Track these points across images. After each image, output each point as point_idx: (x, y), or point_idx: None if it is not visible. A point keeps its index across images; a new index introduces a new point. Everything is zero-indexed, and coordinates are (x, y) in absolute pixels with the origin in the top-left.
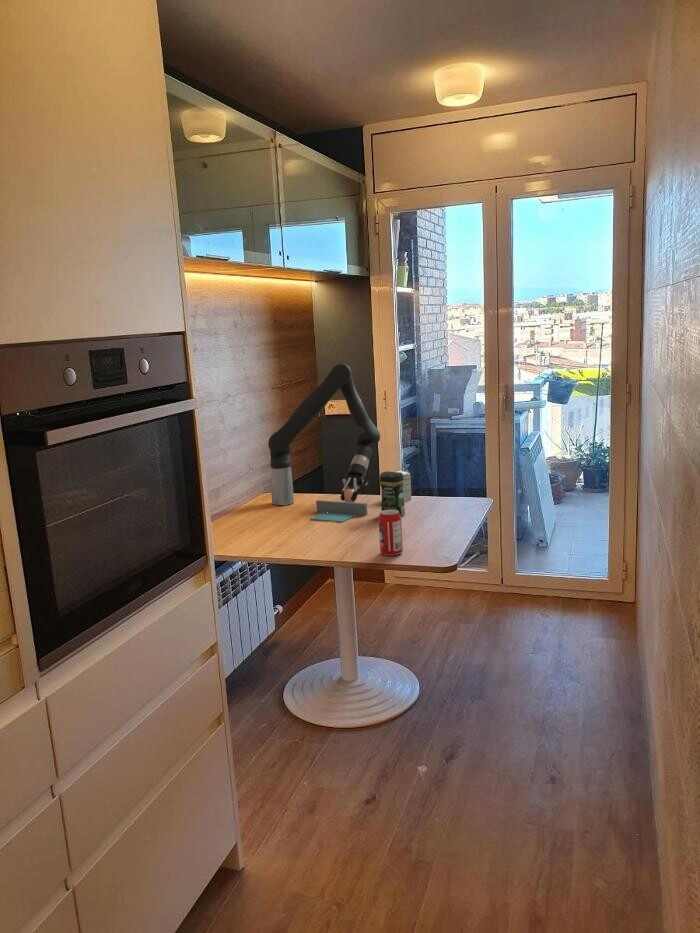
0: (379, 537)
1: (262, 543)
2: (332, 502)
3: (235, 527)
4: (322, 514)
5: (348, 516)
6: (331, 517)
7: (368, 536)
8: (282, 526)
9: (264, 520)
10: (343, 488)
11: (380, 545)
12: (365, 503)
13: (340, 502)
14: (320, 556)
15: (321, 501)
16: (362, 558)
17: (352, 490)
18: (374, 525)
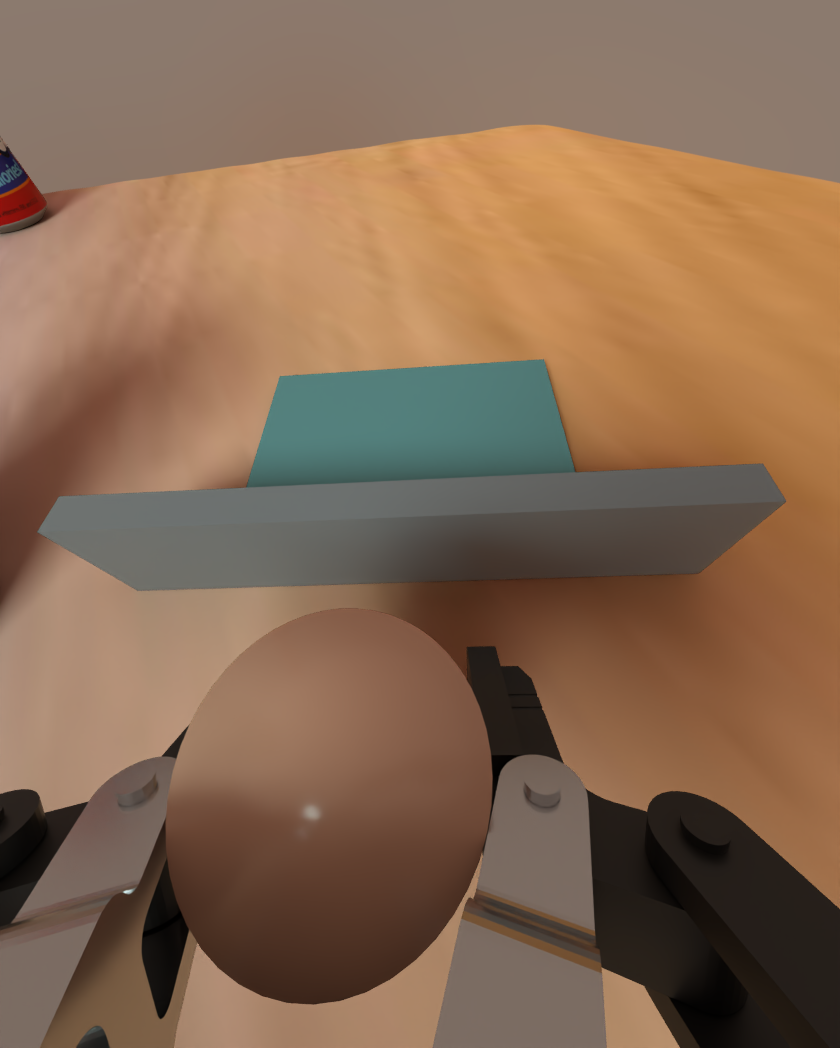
0: (1, 138)
1: (485, 169)
2: (504, 478)
3: (808, 209)
4: (533, 454)
5: (283, 466)
6: (406, 415)
7: (100, 287)
8: (594, 266)
9: (824, 295)
10: (572, 838)
11: (24, 170)
12: (54, 523)
13: (390, 485)
14: (235, 171)
15: (673, 468)
16: (108, 190)
17: (209, 710)
18: (71, 396)
